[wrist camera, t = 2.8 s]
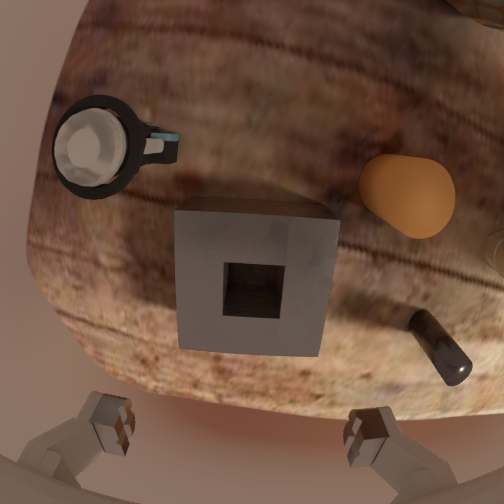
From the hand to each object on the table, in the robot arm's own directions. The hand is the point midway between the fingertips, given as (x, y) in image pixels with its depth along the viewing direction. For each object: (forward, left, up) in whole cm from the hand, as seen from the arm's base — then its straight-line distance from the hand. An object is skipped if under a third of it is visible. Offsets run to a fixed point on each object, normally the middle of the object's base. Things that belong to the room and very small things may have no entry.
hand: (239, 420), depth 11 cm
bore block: (0, 0, -16) cm, 16 cm away
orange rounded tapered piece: (-10, -7, -16) cm, 20 cm away
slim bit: (-16, +5, -16) cm, 23 cm away
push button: (+9, -9, -16) cm, 20 cm away
